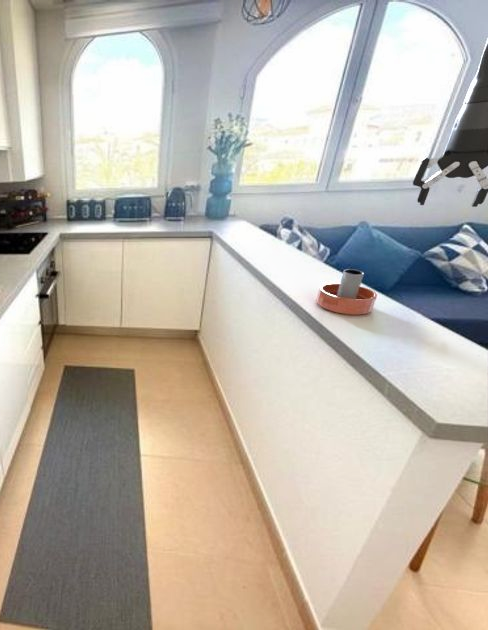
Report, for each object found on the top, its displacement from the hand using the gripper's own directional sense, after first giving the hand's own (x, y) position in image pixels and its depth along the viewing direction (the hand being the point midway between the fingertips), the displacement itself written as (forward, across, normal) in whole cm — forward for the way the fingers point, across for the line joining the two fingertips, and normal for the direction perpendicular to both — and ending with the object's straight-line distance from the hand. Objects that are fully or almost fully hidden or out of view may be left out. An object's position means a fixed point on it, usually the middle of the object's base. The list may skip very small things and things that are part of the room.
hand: (446, 205), depth 80 cm
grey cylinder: (+30, +13, -2) cm, 32 cm away
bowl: (+30, +13, -2) cm, 33 cm away
